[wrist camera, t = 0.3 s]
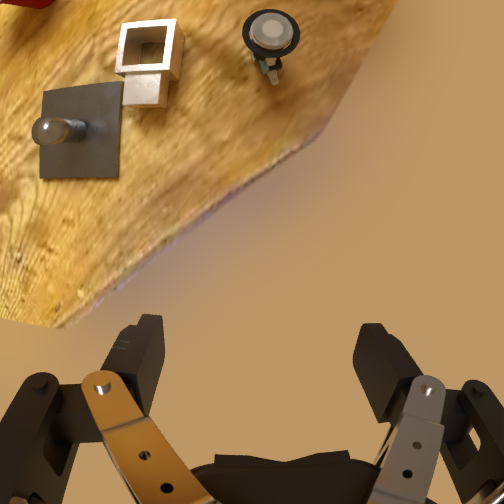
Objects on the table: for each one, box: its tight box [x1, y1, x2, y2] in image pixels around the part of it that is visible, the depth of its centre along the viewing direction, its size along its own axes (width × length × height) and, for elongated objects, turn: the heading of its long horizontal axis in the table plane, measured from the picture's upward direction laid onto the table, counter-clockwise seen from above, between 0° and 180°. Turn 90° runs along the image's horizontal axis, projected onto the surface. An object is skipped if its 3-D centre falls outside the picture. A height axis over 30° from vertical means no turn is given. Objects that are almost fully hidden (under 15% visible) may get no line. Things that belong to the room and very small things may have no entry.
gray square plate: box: [32, 81, 125, 179], centre depth 30 cm, size 12×12×9 cm
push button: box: [242, 9, 300, 86], centre depth 28 cm, size 7×5×10 cm
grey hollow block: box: [115, 19, 185, 108], centre depth 30 cm, size 10×6×6 cm, turn 175°
